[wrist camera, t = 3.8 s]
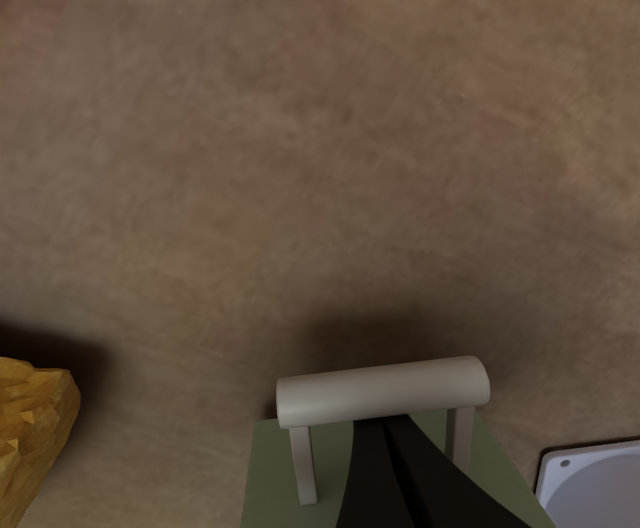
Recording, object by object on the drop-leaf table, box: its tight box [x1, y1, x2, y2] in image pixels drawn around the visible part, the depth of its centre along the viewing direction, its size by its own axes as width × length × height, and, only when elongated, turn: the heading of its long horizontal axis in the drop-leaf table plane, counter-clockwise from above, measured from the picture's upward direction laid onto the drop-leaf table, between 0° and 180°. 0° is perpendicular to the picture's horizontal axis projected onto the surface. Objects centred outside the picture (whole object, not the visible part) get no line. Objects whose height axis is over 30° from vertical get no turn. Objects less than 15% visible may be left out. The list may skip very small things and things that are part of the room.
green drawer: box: [240, 355, 557, 528], centre depth 13 cm, size 15×9×6 cm, turn 5°
